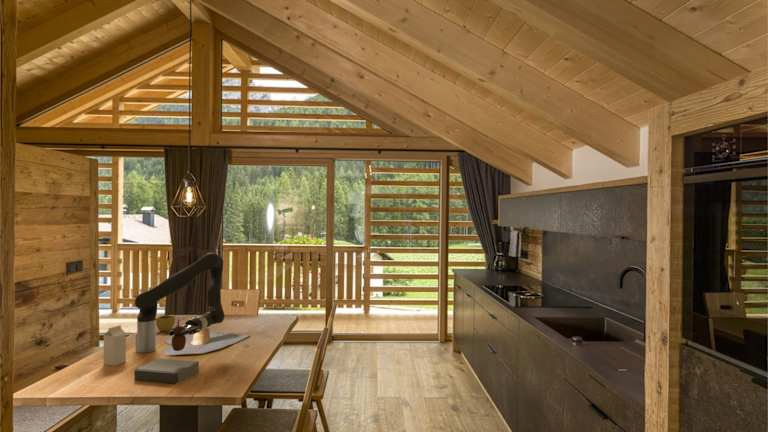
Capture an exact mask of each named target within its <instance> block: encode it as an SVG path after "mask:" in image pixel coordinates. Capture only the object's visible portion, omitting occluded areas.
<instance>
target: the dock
mask: <svg viewBox="0 0 768 432" xmlns="http://www.w3.org/2000/svg"><path fill="white" fill-rule="evenodd" d="M199 363H200V361H198V360H188V359H176V358H164V357H163V358H162V357H159V358H157V359H155V360H152V361H150V362H148V363H145V364H143V365H141V366H139V367H137V368H136V369H134V370H133V371H134V373H133V375H134V376H133V377H134V380H135V381H141V382H142V381H143V382H152V381H153V382H154V383H155V382H156V383H162V382H165V384H173V385H176V384H179V383H181V382H183V381H185V380H186V379H188V378H190V377H191V376H193V375H195V374H197V373H198V372H199V371H200V368H199V367H200V365H199ZM184 379H185V380H184ZM153 382H152V383H153Z"/></svg>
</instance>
